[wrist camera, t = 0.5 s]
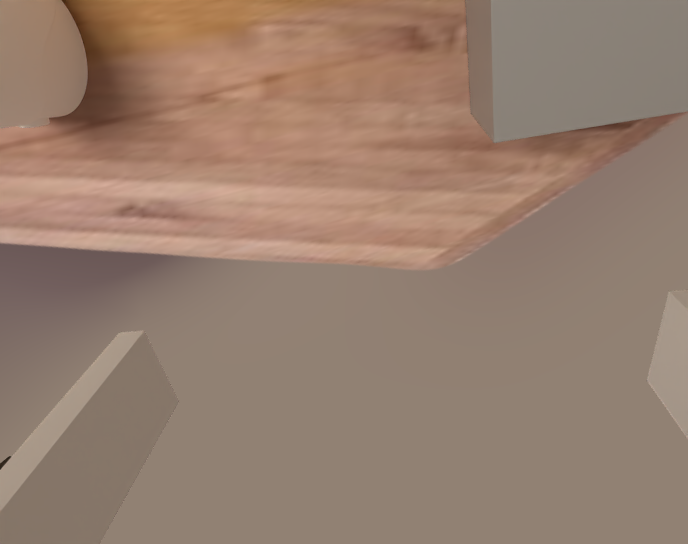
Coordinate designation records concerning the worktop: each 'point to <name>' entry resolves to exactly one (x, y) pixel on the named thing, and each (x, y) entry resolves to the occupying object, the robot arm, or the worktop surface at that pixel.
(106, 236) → the worktop surface
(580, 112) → the cover
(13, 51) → the mug
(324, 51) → the worktop surface
